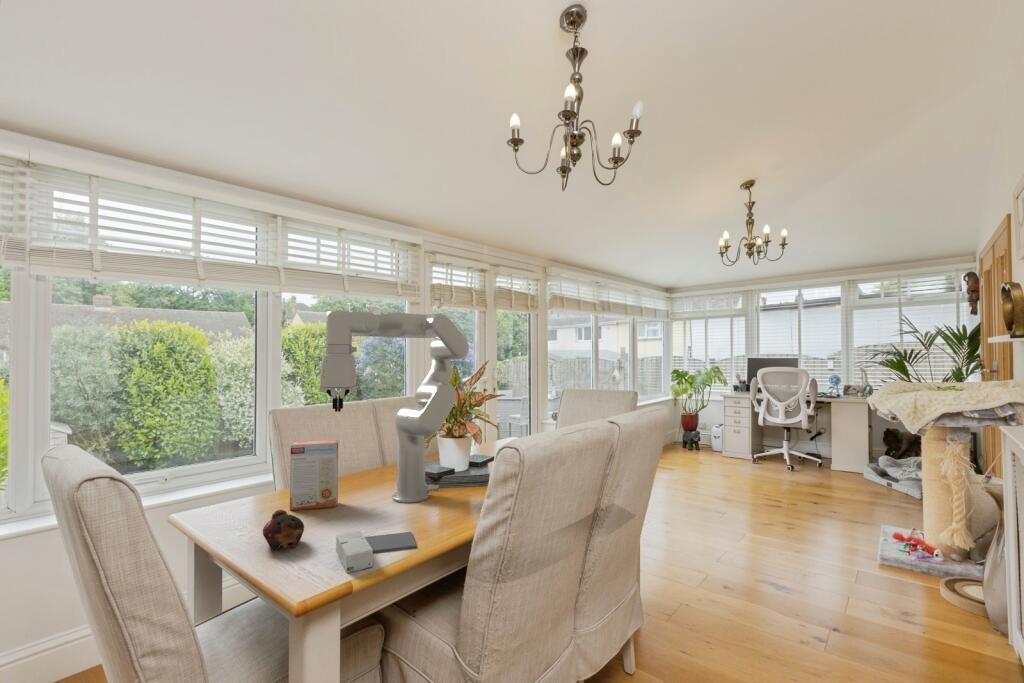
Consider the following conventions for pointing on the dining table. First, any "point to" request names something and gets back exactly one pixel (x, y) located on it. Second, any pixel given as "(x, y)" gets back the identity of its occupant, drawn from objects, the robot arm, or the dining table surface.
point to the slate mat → (391, 542)
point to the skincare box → (354, 551)
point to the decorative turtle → (283, 530)
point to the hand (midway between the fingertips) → (337, 411)
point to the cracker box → (313, 474)
